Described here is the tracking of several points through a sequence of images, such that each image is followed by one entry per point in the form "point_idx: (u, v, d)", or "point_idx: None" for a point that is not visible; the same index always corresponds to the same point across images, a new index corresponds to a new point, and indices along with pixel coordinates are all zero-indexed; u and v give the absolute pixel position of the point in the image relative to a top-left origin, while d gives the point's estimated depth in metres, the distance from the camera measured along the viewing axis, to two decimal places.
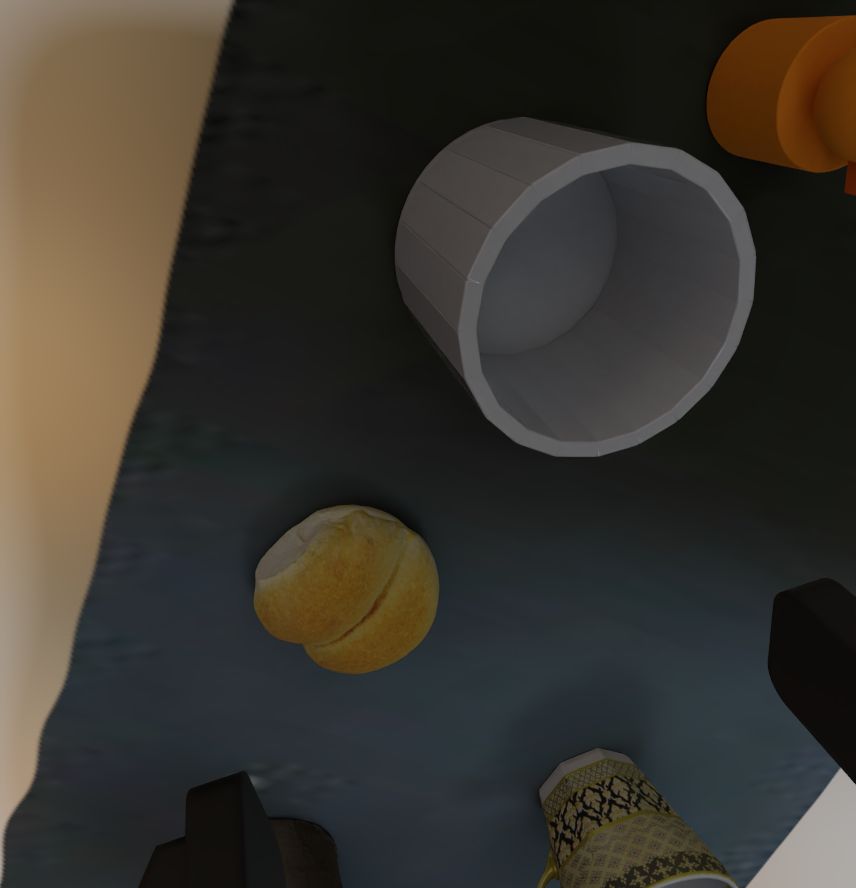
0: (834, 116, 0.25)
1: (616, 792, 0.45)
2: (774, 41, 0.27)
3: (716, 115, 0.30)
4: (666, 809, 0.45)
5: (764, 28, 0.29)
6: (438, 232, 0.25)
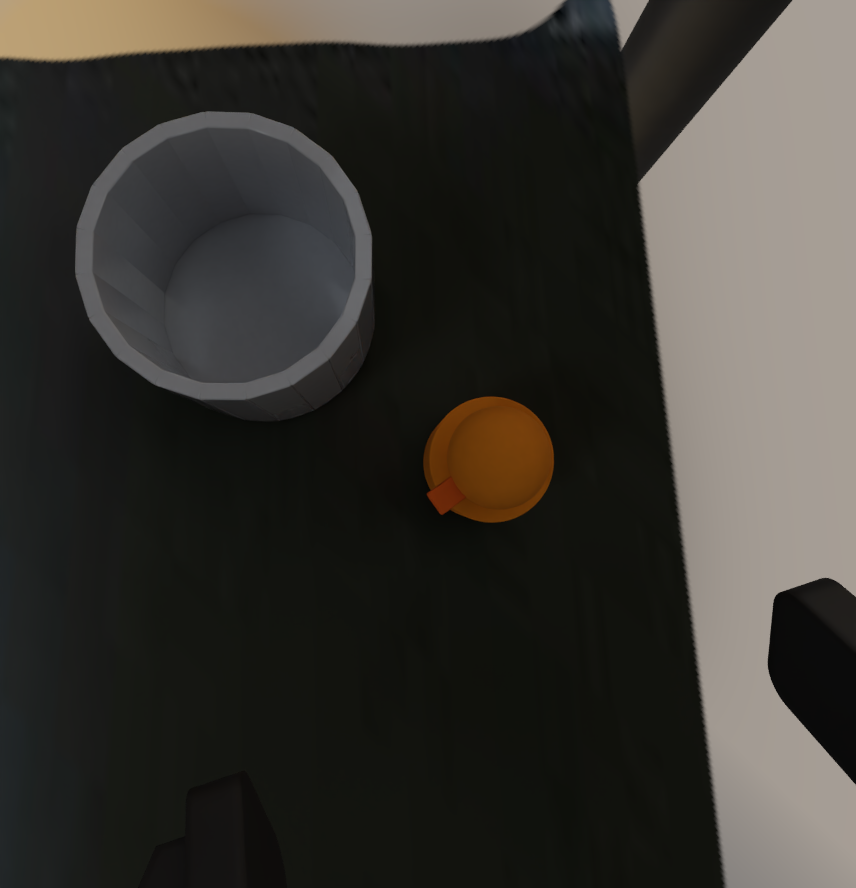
0: (467, 417, 0.29)
1: None
2: None
3: None
4: None
5: None
6: None
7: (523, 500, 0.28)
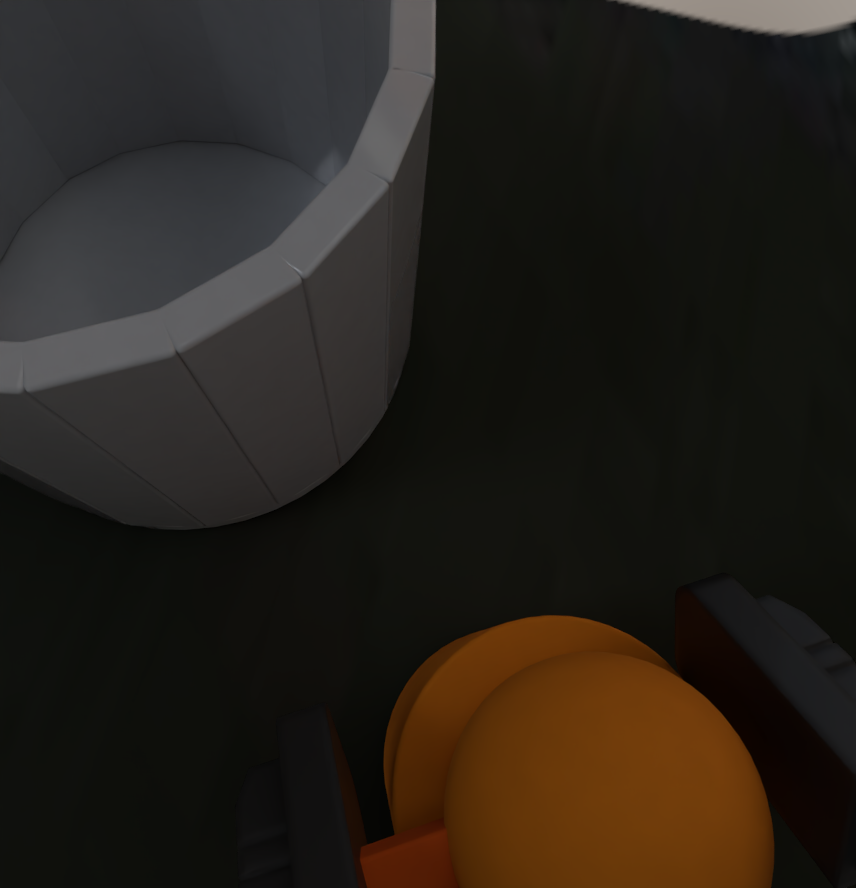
0: (547, 662, 0.10)
1: None
2: None
3: (456, 640, 0.15)
4: None
5: None
6: None
7: None
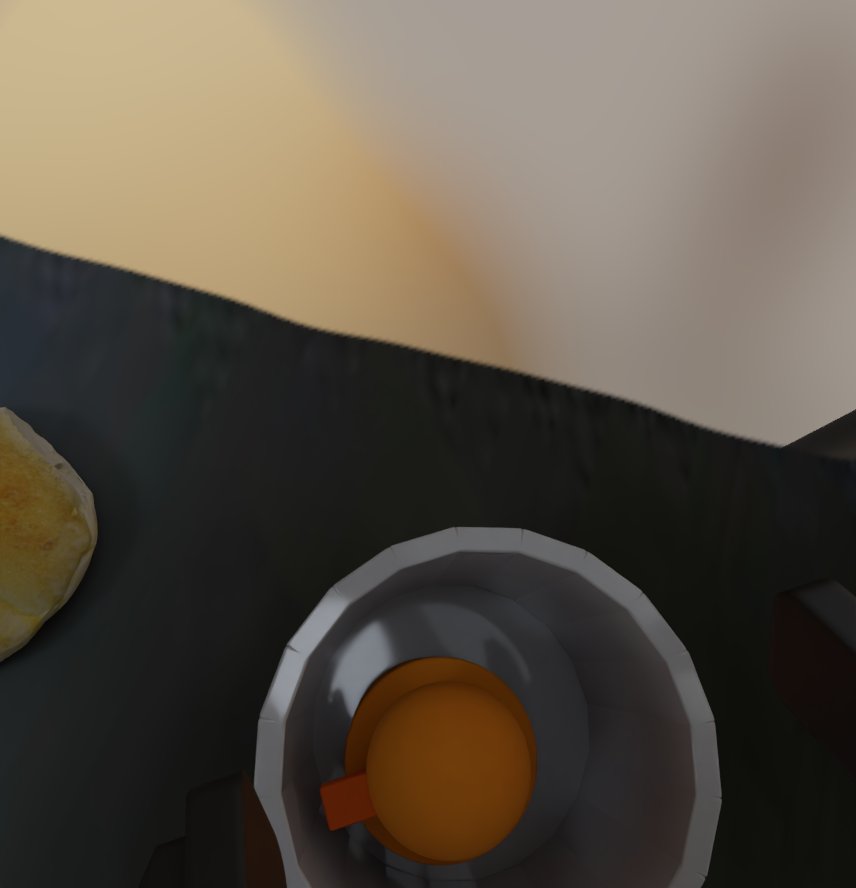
0: (422, 687, 0.18)
1: None
2: None
3: (396, 665, 0.24)
4: None
5: None
6: None
7: (462, 858, 0.17)
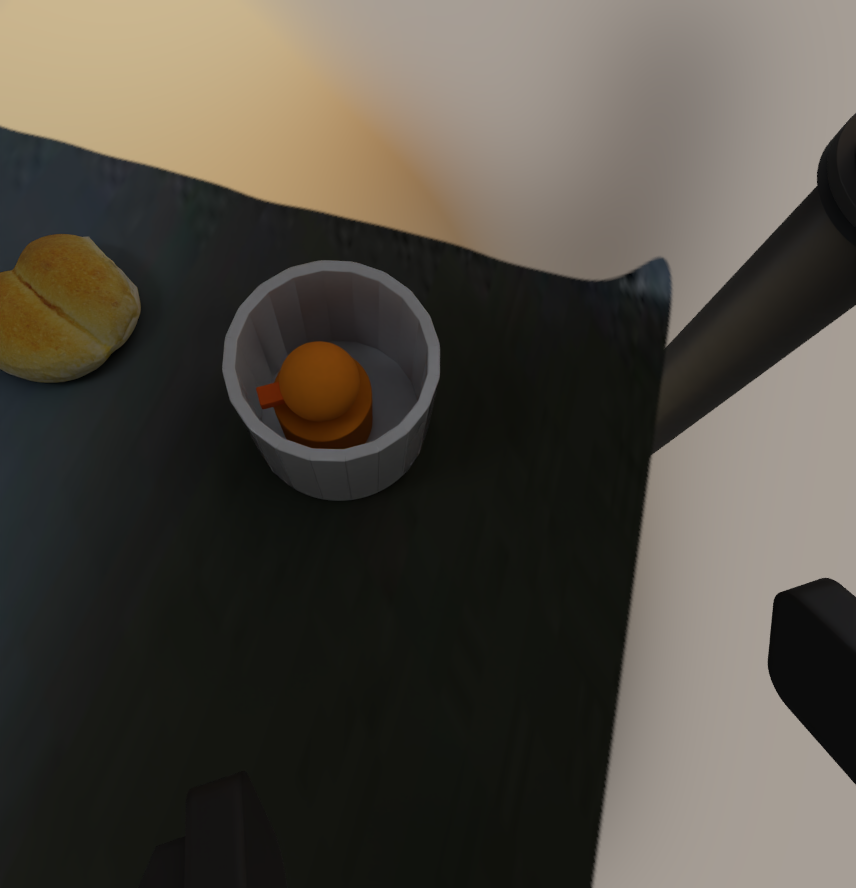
0: None
1: None
2: None
3: None
4: None
5: None
6: None
7: (321, 411, 0.36)
